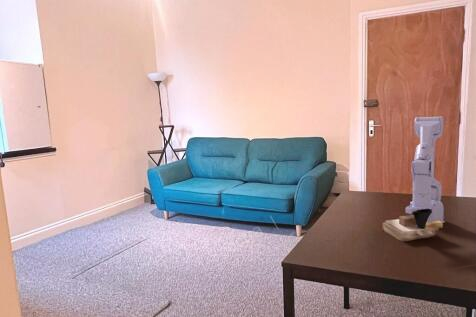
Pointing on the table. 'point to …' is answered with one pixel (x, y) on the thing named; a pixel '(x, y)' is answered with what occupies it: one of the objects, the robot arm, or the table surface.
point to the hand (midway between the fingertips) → (420, 228)
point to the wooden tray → (402, 236)
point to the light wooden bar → (433, 225)
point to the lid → (408, 225)
